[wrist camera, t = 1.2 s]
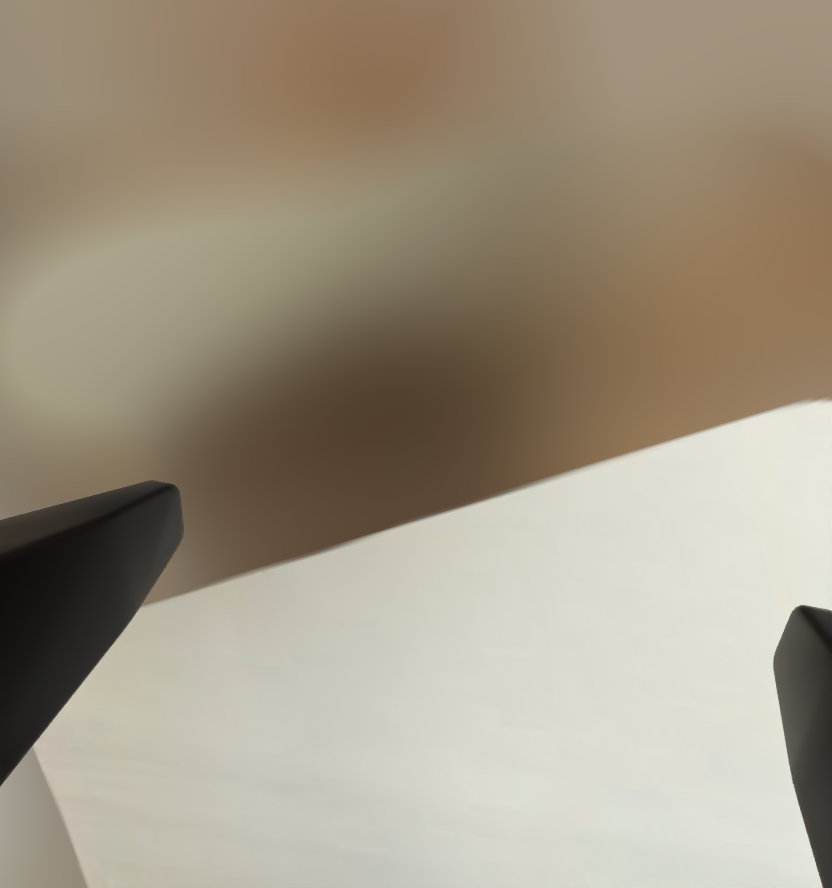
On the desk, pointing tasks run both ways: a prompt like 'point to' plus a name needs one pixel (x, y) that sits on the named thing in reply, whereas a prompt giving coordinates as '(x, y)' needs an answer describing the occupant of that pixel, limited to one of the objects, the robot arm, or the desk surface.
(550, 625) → the desk surface
